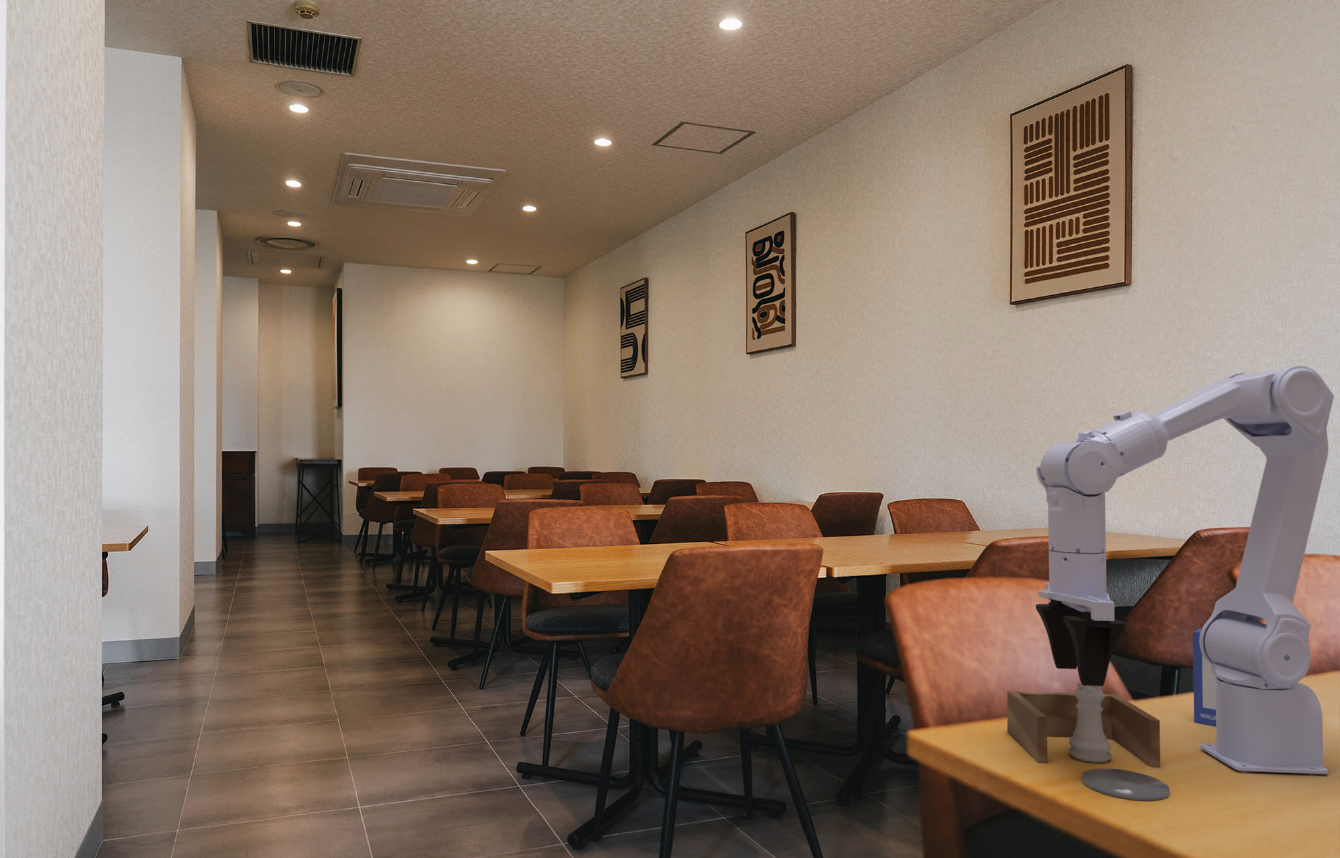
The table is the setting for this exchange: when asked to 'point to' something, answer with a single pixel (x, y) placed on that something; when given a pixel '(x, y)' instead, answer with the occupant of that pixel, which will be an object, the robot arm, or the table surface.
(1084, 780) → the coaster
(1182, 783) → the table surface
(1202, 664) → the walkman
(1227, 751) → the robot arm
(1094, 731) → the rook chess piece
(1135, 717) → the u-shaped barrier
